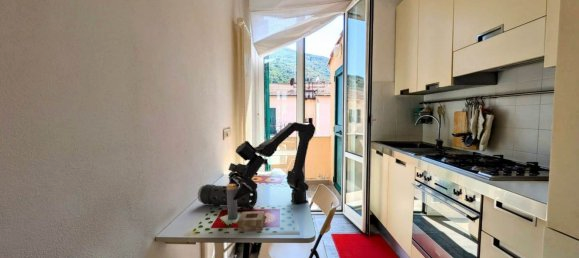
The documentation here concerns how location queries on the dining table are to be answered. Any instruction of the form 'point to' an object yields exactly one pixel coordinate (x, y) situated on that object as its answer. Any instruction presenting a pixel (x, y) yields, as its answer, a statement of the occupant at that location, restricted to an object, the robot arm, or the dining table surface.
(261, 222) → the socket block
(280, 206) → the dining table surface
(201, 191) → the muzzle brake
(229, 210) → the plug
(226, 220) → the mat
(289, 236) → the dining table surface
